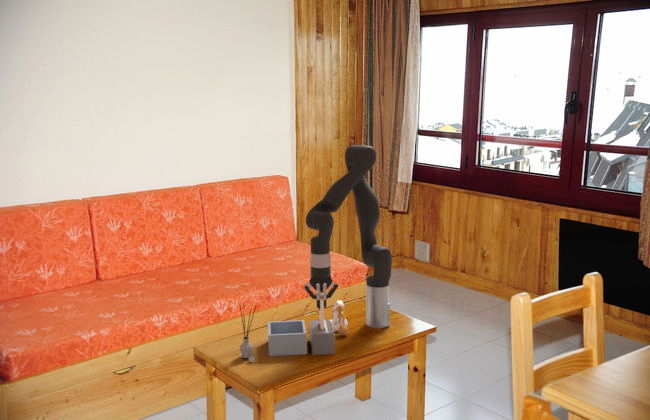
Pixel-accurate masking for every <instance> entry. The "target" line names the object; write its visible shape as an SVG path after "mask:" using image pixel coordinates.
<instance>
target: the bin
mask: <svg viewBox="0 0 650 420" xmlns="http://www.w3.org/2000/svg"><path fill="white" fill-rule="evenodd" d="M267 333H268V334H267V339H268V340H267V341H268V356H269V357H275V356H276V357H278V356H299V355H307V354H308V333H307V328H306V323H305V319H300V320H299V319H297V320H295V319H294V320H278V321H275V320H274V321H267Z"/></svg>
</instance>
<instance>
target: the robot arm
mask: <svg viewBox="0 0 650 420" xmlns="http://www.w3.org/2000/svg"><path fill="white" fill-rule="evenodd" d="M376 151H377V150H375V148H374V147H372V146H371V145H363V144H351V145H349V146H347V147H346V149H345V152H344V162H345V167H346V170H347V172H346V174H345V175H343V176H341V177H340V178H339V179H338V180H336V181H335V182H334V183H333V184H332V185H331V186H330V187H329V188H328V190H327V191H326V193H325V194H324V196H323V198H322V199H320V200H319V201H318V202H317V203H316V204H315V205H314V206H312V208H311V209H310V210H309V211H308V212H307V214H306V217H305V225H306V226H307V227H308V228H309V229H311V230H316V231H318V235H314V236H312V237H311V238H310V256H309V257H310V258H309V259H310V260H309V261H310V262H309V263H310V264H309V265H310V279H309V282H308V283H304V285H303V288H304V290H305V292H307V294H308V295H309V296H310V298H311V299H312V300H316V308H317V309H318V311H319V310H320V291H323V293H324V310H325V308H327V300H328V299H331V298H332V296H333V295H334V294H335V292H336V291H337V290H338V287H339V285H338V282H334V281H333V278H332V270H331V269H332V268H331V266H332V261H331V258H332V257H331V252H330V251H331V249H330V247H331V246H330V244H331V243H330V242H331V238H332V235H333V234H332V233H333V229H334V226H335V225H334V224H335V220H334V217H333V215H332V213H336V212H337V211H338V210H339V209H340V208H341V206H342V205H343V203H344V201H345V200H346V199H347V197H348V196H349V194H350V193H351V192H352V193H353V199H354V205H355V206H354V207H355V211H356V217H357V222H358V228H359V236H360V249H361V258H362V262H363V263H364V264H365V265H366V267H367V266H368V267H370V268H373V274H370V275H368V276H367V277H366V281H365V283H366V284H365V285H366V286H365V287H366V289H365V290H366V293H365V296H366V297H365V298H366V299H365V300H366V301H365V302H366V303H365V304H366V305H365V309H366V310H365V312H366V313H365V314H366V315H365V321H366V322H365V324H366V326H367V327H369V328H372V329H383V328H386V327H391V304H390V280H391V276H392V266H393V265H392V263H393V258H392V257H393V256H392V252H391V250H390V249H389V248H388V247H385V246H381V245H378V243H377V238H376V229H377V227H378V224H379V220H380V217H381V211H380V210H381V209H380V205H379V199H378V196H377V194H376V193H375V192H374V190H373V188H372V187H371V186H370V184H369V182H368V181H367V179H366V177H365V176H366V175H367V174H368V173H369V172H370V170H371V169H372V168H373V166H374V165H375V163H376V161H377V152H376ZM330 286H331V288H330ZM311 288H313V290H314V291H315V293H314V292H313V291H312V290H311ZM329 288H330V289H329ZM328 289H329V290H328ZM327 291H328V292H327Z"/></svg>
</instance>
